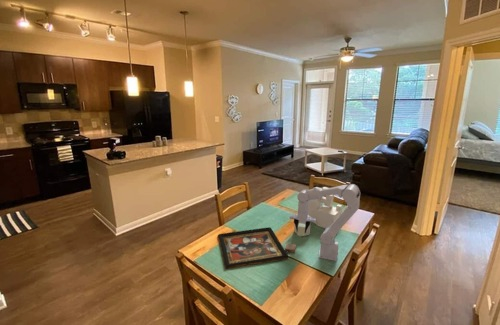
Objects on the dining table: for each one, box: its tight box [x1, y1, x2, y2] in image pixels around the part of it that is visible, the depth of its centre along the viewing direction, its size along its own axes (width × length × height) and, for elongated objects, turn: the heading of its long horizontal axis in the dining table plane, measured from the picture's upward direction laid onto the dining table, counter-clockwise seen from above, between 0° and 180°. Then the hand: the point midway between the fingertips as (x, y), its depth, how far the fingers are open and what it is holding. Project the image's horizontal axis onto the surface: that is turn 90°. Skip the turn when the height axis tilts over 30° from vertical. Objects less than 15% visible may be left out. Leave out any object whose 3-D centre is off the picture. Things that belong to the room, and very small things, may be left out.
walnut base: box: [284, 242, 297, 254], centre depth 141 cm, size 6×6×2 cm
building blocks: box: [308, 186, 343, 229], centre depth 169 cm, size 21×12×25 cm, turn 49°
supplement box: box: [293, 213, 312, 238], centre depth 157 cm, size 7×7×13 cm
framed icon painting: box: [217, 227, 289, 270], centre depth 144 cm, size 38×35×3 cm
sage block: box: [296, 223, 306, 237], centre depth 143 cm, size 4×4×6 cm
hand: (301, 231), depth 143 cm, fingers closed on sage block, 4 cm apart
